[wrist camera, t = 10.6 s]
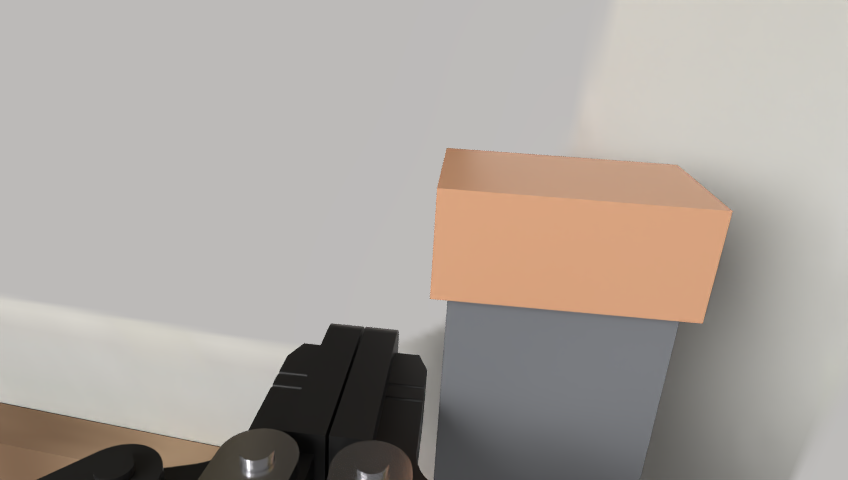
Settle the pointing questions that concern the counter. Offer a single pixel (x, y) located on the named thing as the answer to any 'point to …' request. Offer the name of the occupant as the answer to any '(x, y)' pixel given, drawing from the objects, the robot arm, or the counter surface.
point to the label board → (75, 443)
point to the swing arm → (563, 308)
